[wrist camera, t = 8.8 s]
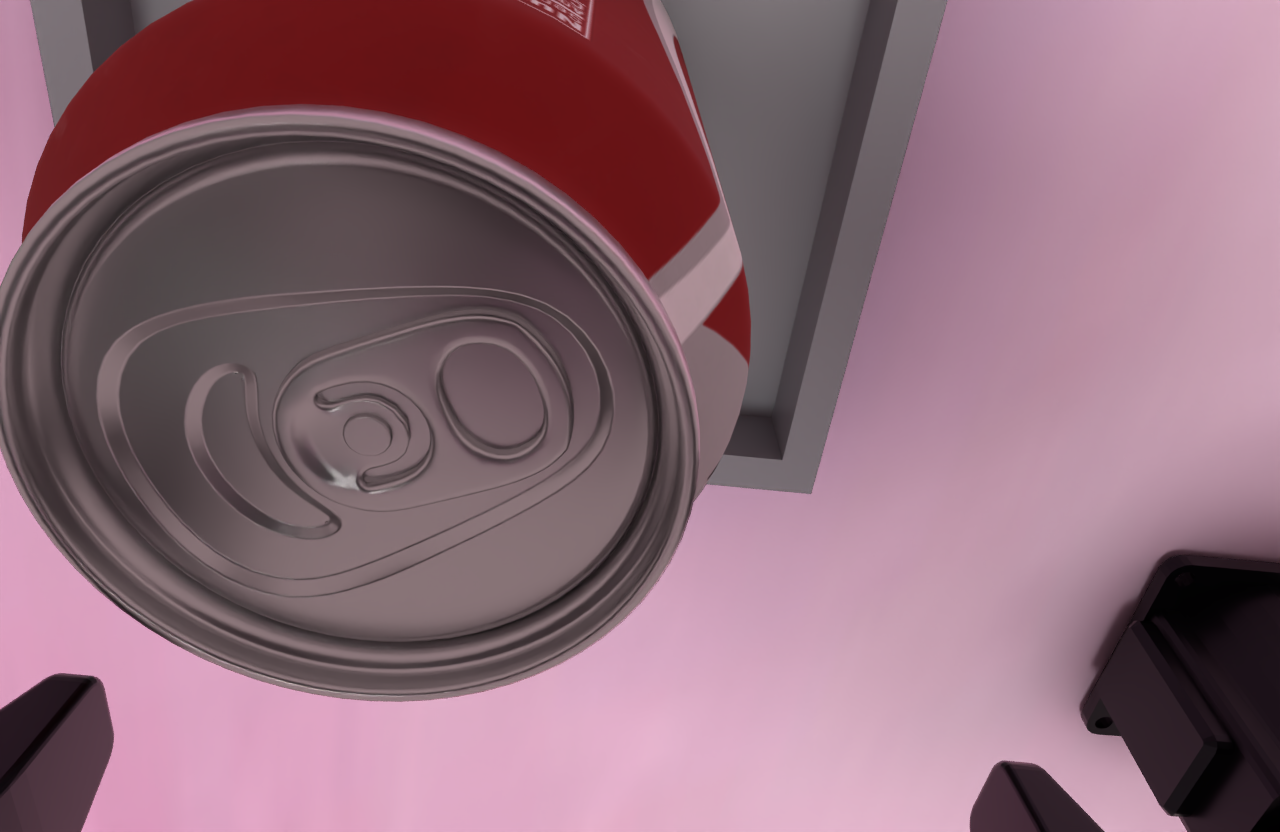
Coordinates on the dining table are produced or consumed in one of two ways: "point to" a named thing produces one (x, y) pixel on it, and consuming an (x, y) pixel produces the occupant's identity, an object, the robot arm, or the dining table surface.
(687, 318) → the soda can
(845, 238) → the gray rectangular tray
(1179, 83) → the dining table surface
